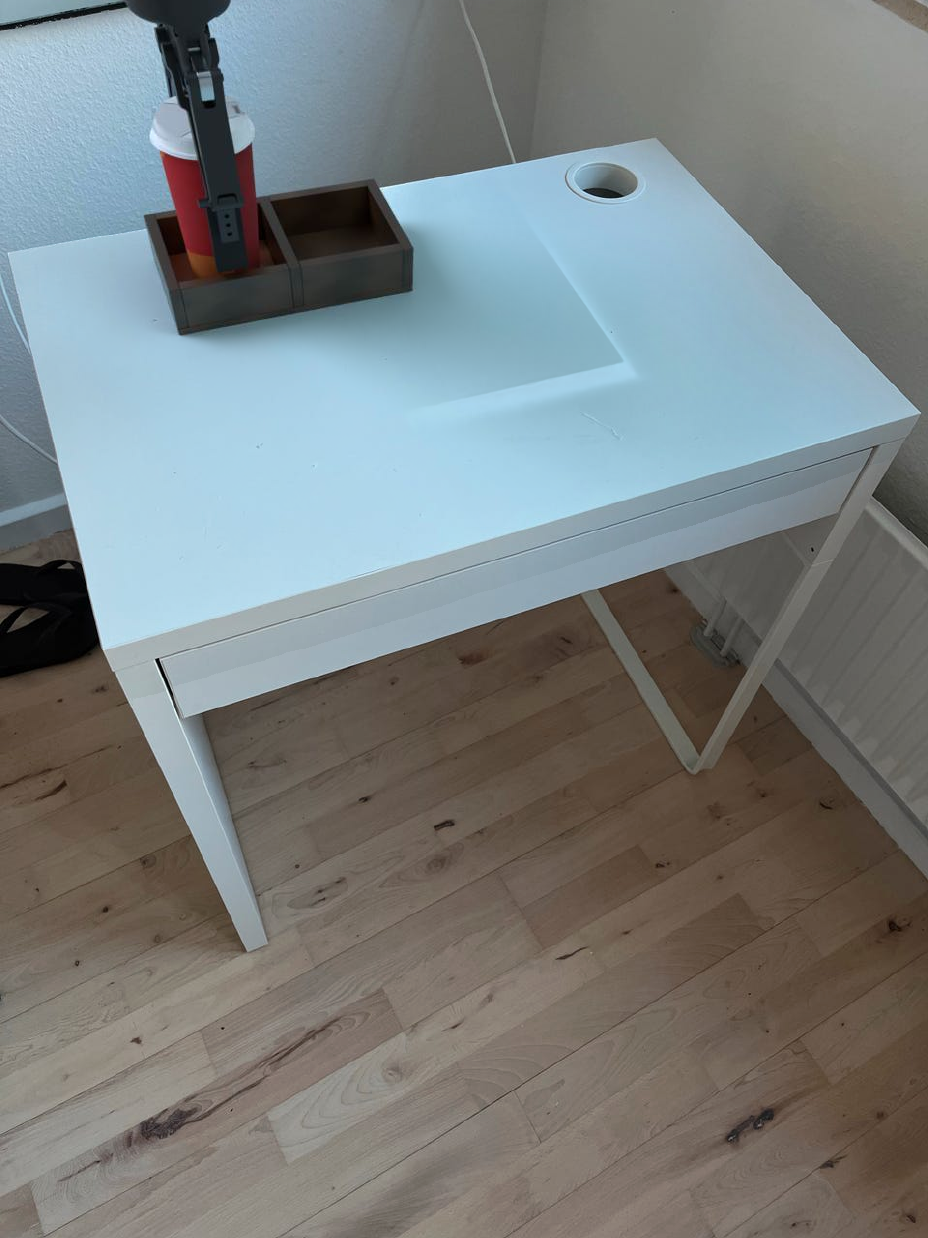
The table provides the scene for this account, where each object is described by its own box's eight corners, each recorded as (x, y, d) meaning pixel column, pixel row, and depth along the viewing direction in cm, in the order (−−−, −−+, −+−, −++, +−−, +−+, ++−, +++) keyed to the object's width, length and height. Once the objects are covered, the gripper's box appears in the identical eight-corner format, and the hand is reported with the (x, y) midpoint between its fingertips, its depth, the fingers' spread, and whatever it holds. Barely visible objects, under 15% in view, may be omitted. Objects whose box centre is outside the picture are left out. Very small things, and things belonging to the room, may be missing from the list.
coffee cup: (256, 242, 90) (235, 80, 78) (285, 293, 86) (266, 131, 74) (170, 260, 88) (133, 97, 75) (195, 314, 84) (160, 150, 71)
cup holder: (178, 335, 83) (168, 291, 79) (153, 258, 89) (143, 214, 85) (412, 290, 89) (413, 247, 85) (374, 221, 94) (374, 177, 91)
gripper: (261, 7, 60) (293, 302, 79) (190, -123, 71) (232, 163, 90) (143, 20, 58) (204, 319, 77) (88, -115, 69) (153, 175, 88)
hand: (219, 235), depth 83 cm, fingers open, 9 cm apart
